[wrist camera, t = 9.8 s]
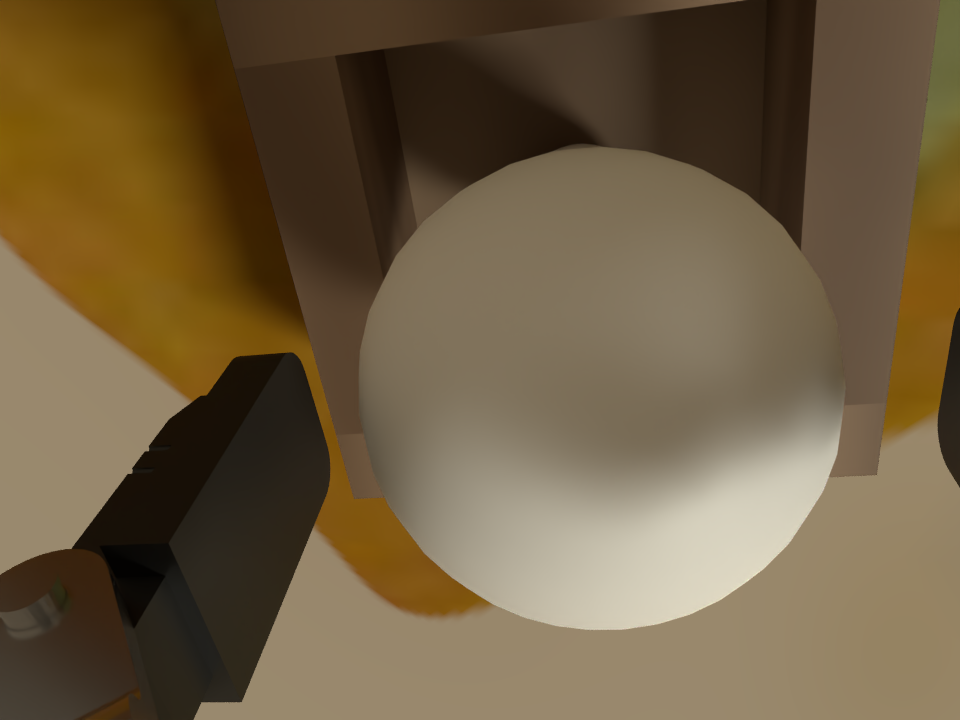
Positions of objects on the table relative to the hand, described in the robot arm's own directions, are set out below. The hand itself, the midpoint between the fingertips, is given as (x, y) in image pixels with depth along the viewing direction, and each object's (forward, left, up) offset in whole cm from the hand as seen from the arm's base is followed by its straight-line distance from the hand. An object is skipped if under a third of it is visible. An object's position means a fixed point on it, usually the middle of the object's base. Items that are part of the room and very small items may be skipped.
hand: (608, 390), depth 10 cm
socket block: (0, 0, -10) cm, 10 cm away
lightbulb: (0, 0, -9) cm, 9 cm away
